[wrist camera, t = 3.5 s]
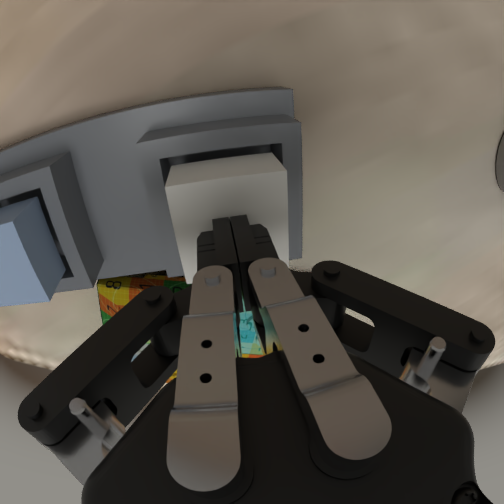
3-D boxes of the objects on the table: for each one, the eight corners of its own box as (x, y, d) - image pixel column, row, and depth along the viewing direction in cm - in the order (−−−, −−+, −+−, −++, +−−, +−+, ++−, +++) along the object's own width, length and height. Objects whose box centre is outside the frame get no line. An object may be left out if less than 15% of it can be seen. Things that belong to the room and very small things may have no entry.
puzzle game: (308, 388, 30) (112, 384, 25) (298, 355, 34) (118, 348, 29) (353, 308, 24) (93, 292, 19) (334, 274, 28) (108, 255, 23)
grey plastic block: (280, 86, 18) (309, 92, 13) (286, 230, 24) (308, 276, 19) (-5, 152, 16) (-51, 180, 11) (37, 268, 22) (11, 314, 17)
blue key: (37, 196, 14) (12, 221, 11) (65, 269, 17) (50, 301, 14) (-18, 214, 13) (-43, 238, 11) (11, 278, 16) (-7, 307, 14)
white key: (271, 152, 15) (287, 170, 12) (275, 238, 18) (288, 269, 15) (171, 165, 14) (164, 187, 12) (188, 250, 17) (186, 284, 15)
